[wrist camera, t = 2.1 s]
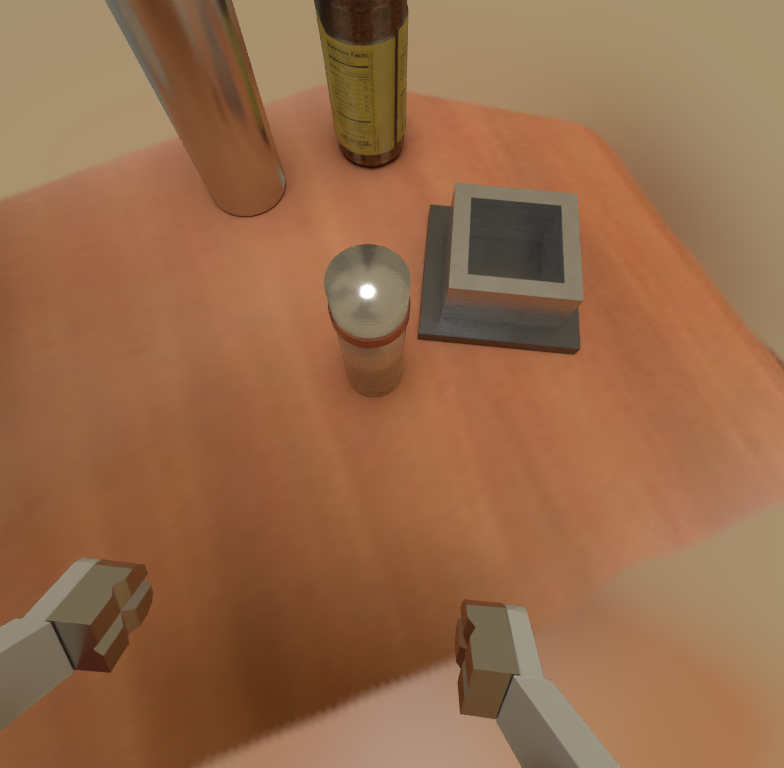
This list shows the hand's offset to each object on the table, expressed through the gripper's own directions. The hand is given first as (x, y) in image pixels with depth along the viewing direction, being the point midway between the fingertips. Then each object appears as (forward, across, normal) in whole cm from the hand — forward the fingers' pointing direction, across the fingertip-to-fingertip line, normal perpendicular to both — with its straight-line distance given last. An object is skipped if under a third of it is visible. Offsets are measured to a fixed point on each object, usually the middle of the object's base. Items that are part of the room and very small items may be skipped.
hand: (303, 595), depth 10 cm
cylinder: (+20, 0, +3) cm, 21 cm away
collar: (+27, -9, -3) cm, 28 cm away
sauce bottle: (+36, +3, -12) cm, 38 cm away
